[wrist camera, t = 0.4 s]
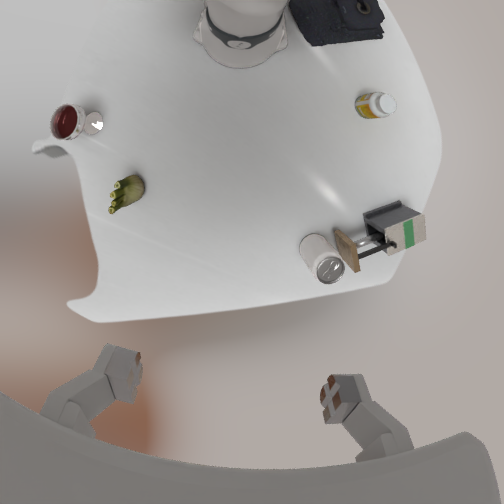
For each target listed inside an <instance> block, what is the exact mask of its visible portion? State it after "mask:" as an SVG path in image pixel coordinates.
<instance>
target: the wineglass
mask: <svg viewBox="0 0 504 504" xmlns="http://www.w3.org/2000/svg"><path fill="white" fill-rule="evenodd" d="M102 124H103V119H102V116H101V115H100V114H99V113H97V112H92V113H90V114H89V115H88V116H87V117H86V114H85V112H84V110H83V108H81V107H80V106H78V105H75V104H63V105H61V106H59V107H58V108H57V109H56V110H55V112H54V113H53V115H52V118H51V121H50V129H51V133H52V135H53V137H54V138H56V139H57V140H72V139H74V138H76V137H77V136H78V135H79V134H80V133H81V132H82V131H83V129H84V130H85V132H86V133H87V134H90V135H93V134H96V133H97V132H98V131H99V130H100V129H101V127H102Z"/></svg>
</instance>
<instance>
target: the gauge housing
mask: <svg viewBox="0 0 504 504" xmlns="http://www.w3.org/2000/svg"><path fill="white" fill-rule="evenodd" d="M363 216H364V221H365V227H366V232H367V236H370V235H372V234H375V233H377V232H381V233H383V236H384V237H383V238H382V239H380V240H377V241H375V242H373V243H374V244H376V245H377V246H380V245H382V244H385V243H387V242H390V241H394V242H395V243H397V248H394V247H392V246H391V247H388V248H386V249H383V251H384V252H386V253H387V255H388V256H390V255H392V254H394V253H397V252H399V251H401V250H404V249H407V248H409V247H411V246H414V245H415V244H417V243H419V242H421V241H424V240H426V230H425V217H424V214H421V213H419V212H417V211H415V210H413V209H411V208H408V207H406V206H404V205H402V203H401V201H397V202H394V203H391V204H388V205H386V206H383V207H380V208H377V209H375V210H372V211H369V212H366V213H364V214H363Z"/></svg>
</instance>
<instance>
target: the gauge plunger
mask: <svg viewBox="0 0 504 504" xmlns="http://www.w3.org/2000/svg"><path fill="white" fill-rule="evenodd" d="M334 233H335V237H336V242H337V246H338V251H339V255H340V256H341V257H342V259H343V260H344V261H345V262H346V263H347V264H348V265H349V267H350V268H351V269H352V270H353V271H354V272H355V273H356V272H359V271H360V265H359V259H361V258H364V257H366V256H369V255H371V254H374V253H376V252H379V251H381V250H383V249H386V248H388V247H391V246H392V247H394V248H397V243H395V242H394V241H390V242H387V243H385V244H382V245H380V246H377V247H375V248H372V249H370V250H367V251H365V252H362V253H360V254H357V248H360V247H362V246H365V245H367V244H370V243H372V242H375V241H377V240H380V239H382V238H383V237H384V236H383V233H381V232H377V233H375V234H372V235H370V236H367V237H364V238H362V239H359V240H357V241H354V242H353V241H352V240H351V239H349V238H348V237H347V236H346V235H345V234H344V233H342V232H341V231H340V230H337V231H334Z"/></svg>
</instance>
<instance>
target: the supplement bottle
mask: <svg viewBox="0 0 504 504" xmlns="http://www.w3.org/2000/svg"><path fill="white" fill-rule="evenodd" d="M355 107H356V110H357V112H358V114H359V115H360V116H362V117H363V118H367V119H370V118H384V117H387V116H389V115H390V114H392V113H394V112H395V111H396V108H397V104H396V101H395V99H394V98H393V97H392V96H391V95H389V94H384V93H382V92H375V93H370V94H366V95H362V96H360V97H358V98H357V100H356V103H355Z"/></svg>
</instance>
